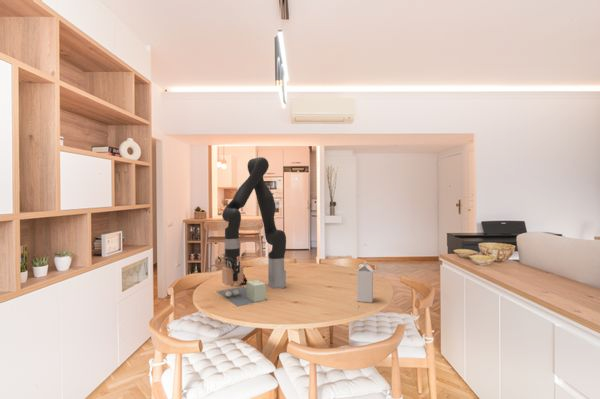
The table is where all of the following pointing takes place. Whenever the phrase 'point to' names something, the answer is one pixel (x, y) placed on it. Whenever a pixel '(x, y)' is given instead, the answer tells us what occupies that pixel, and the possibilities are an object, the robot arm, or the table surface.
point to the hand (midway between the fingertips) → (232, 279)
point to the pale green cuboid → (256, 290)
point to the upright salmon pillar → (231, 276)
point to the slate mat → (237, 296)
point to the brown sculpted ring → (243, 280)
